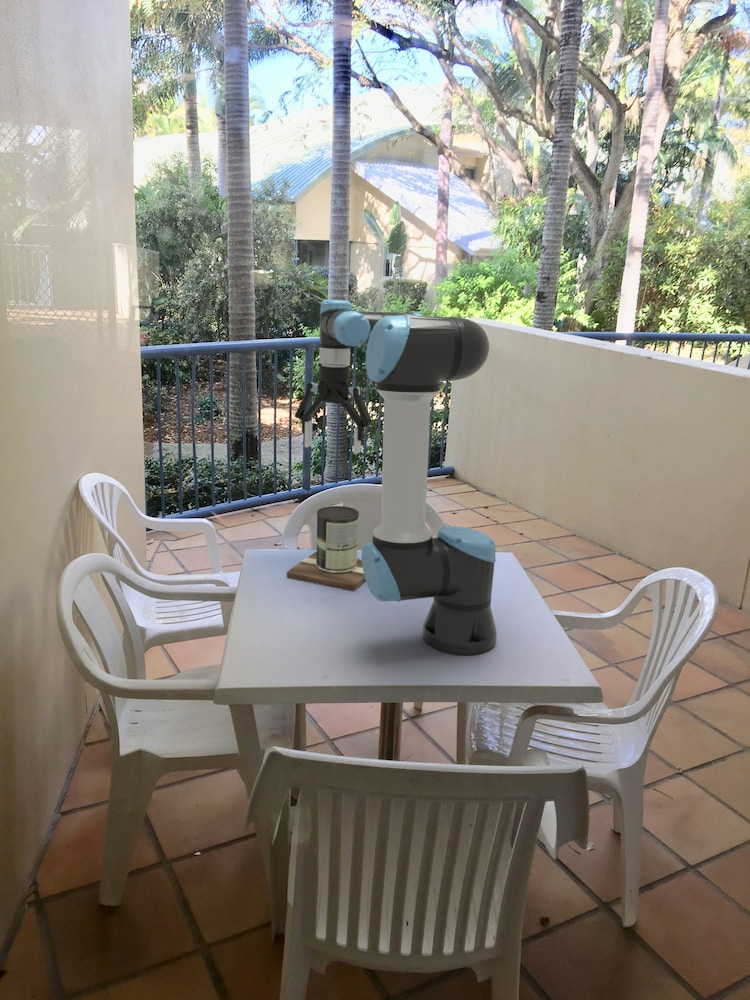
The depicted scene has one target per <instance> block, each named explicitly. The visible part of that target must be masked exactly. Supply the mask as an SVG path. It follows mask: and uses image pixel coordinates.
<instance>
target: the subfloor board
mask: <svg viewBox="0 0 750 1000" xmlns="http://www.w3.org/2000/svg"><path fill="white" fill-rule="evenodd" d="M307 558H312V559H317V551H315V552H313V553H312V554H311V555H309V556H308V557H307ZM357 567H359V568H363V567H362V559H360V558H359V559H357ZM286 578H288V579H291V578H292V580H296V579H298V581H301V580H303V581H302V582H306V581H308V582H307V583H311V582H314V583H313V584H316V583H318V584H317V585H321V584H323V585H322V586H326V585H327V587H331V588H335V587H336V589H340V588H341V590H346V591H351V592H356V590H358V589H359V588H360V587H361V586H362V585H363V584H364V583H366V580H365V576H364V574H361V573H356V572H350V571H349V572H345V573H329V572H325V571H322V570H320V569H318V568H317V567H316V565H314V564H309V563H304V562H301V561H300V562H299V563H297V564H296V565H295V566H293V567H292V568H290V569H289V570H288V571H286Z"/></svg>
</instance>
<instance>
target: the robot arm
mask: <svg viewBox="0 0 750 1000" xmlns="http://www.w3.org/2000/svg"><path fill="white" fill-rule="evenodd" d="M352 307H353V306H352V303H351V302H350V301H349V300H341V299H323V300H322V301H321V302H320V311H319V357H318V358H319V359H318V360H319V361H318V362H319V364H320V366H319V367H318V380H319V382H318V383H316V382H315V381H312V382H308V383H307V384H306V389H305V390H306V391H305V394H304V395H303V397H302V400H301V402H300V404H299V406H298V408H297V409H296V412H295V414H294V417H295V419H299V420H301V433H302V434H304V448H309V447H312V446H313V420H311V418H312V417H313V415H314V414H315V413H316V412H317V411H318V410H319V409H320V407H322V405H323V404H324V403H326V404H330V403H332V404H335V405H338V404H340V405H341V406H342V407H343V408H344V409H345V411H346V412H347V414H348V415H349V417H350V418H351V419H352V421H353V422H354V424H355V425H356V427H354V428H353V453H352V454H353V455H357V454H359V453H361V449H362V447H361V444H362V441H364V439H365V428H366V427H369V426H371V425H373V420H372V419H371V415H370V414H369V413H370V412H369V411H368V408H367V405H366V404H365V403H366V402H365V400H364V398H363V396H362V393H363V392H362V387H361V386H355V387H351V386H350V375H351V374H350V372H351V371H350V370H351V369H350V366H349V365H350V364H351V347H356V346H357V347H358V346H360V345H361V346H362V345H363V346H364V345H365V346H366V352H365V367H366V374H367V377H368V378H369V380H370V381H373V382H374V383H376V384H375V385H376V387H375V390H376V392H377V393H378V394H379V395H380V397H381V398H383V427H382V429H383V430H382V431H383V434H382V438H383V439H382V467H381V468H382V471H381V473H382V474H381V504H380V505H381V506H380V507H381V508H380V524H379V525H378V526H376V528H374V529H373V530H372V541H368V542H367V543H364V545H363V546H362V549H361V560H362V567H363V572H364V576H365V580H366V581H365V583H366V585H367V588H368V590H369V592H370V594H371V595H372V597H373V598H374V599H376V600H377V601H379V602H382V603H383V602H385V603H386V602H397V603H400V602H403V601H410V600H411V601H412V600H418V599H428V598H433V601H432V604H431V606H430V609H429V611H428V613H427V615H426V618H425V619H424V620H425V621H424V622H423V627H422V637H423V640H424V641H425V642H426V643H427V644H428V645H429V646H431V648H434V649H436V650H438V651H440V652H441V651H442V652H444V653H448V654H455V655H463V656H466V655H467V656H469V655H478V654H483V653H485V652H488V651H490V650H492V648H494V646H495V645H496V643H497V633H498V632H497V628H496V623H495V620H494V615H493V612H492V611H493V610H492V606H491V605H492V604H491V603H492V593H493V583H494V575H495V574H494V572H495V563H496V561H497V559H496V542H495V541H494V539H493V538H492V537H490V536H489V535H488V534H486V533H484V532H483V531H478V530H477V529H473V528H469V527H464V526H456V525H448V526H443V527H441V528H439V530H438V532H436V533H437V534H436V535H437V537H433V535H434V534H433V532H432V530H431V529H429V528H428V526H427V525H426V517H427V515H426V512H427V490H428V489H427V488H428V469H429V468H428V466H429V465H428V464H429V443H430V442H429V441H430V420H431V419H430V418H431V416H430V415H431V402H432V400H433V399H434V397H435V398H436V396H437V395H438V394H439V393H440V382H449V381H450V382H451V381H452V382H453V381H460V380H463V379H466V378H469V377H471V376H473V375H475V374H476V373H477V372H478V371H479V370H480V369H482V367H483V366H484V364H485V362H486V361H487V359H488V356H489V352H490V342H489V337H488V335H487V333H486V331H485V329H483V327H482V326H481V325H479V324H478V323H477V322H475V321H473V320H471V319H467V318H464V317H459V316H426V315H423V314H422V313H418V312H412V311H406V312H397V311H396V312H395V311H394V312H392V311H390V312H388V311H387V312H386V311H366V310H365V311H363V310H358V311H357V310H356V311H355V310H353V309H352ZM317 390H318V392H319V394H320V395H319V396H318V397H317V398H316V400H315V401H314V402H313V404H312V405H311V406H310V407H309V405H310V403H311V401H312V398H313V396H314V395H315V392H317ZM349 394H351V396H352V397H353V400H354V403H355V406H356V407H357V409H356V408H355V406H354V405H353V403H352V400H351V399H350V398H349V396H348V395H349ZM306 410H307V411H306Z"/></svg>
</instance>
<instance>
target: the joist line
mask: <svg viewBox="0 0 750 1000" xmlns="http://www.w3.org/2000/svg"><path fill="white" fill-rule="evenodd" d="M316 560H317V559H312V558H308V557H305V558H304V559H302V560H301V561H300V562H304V563H309V564H314V565H316ZM350 572H356V573H361V574H364V572H363V568H359V567H356V568H355V569H354V570H352V571H350Z"/></svg>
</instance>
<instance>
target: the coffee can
mask: <svg viewBox="0 0 750 1000" xmlns="http://www.w3.org/2000/svg"><path fill="white" fill-rule="evenodd" d="M359 516H360V512H359V511H358V510H357V509H355V508H353V507H349V506H344V505H343V506H342V505H341V506H340V505H331V506H325V507H321V508H319V509H317V510H316V519H317V520H316V523H317V524H316V552H317V560H316V567H317V568H318V569H320V570H322V571H325V572H329V573H345V572H349V571H352V570H354V569H355V568H356V567H357V555H358V538H359V537H358V532H359V531H358V530H359Z"/></svg>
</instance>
